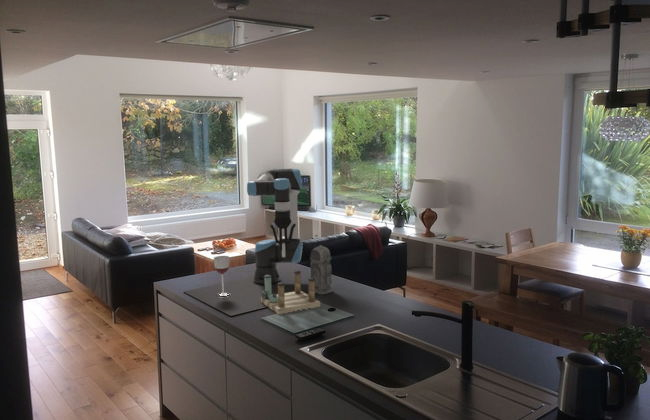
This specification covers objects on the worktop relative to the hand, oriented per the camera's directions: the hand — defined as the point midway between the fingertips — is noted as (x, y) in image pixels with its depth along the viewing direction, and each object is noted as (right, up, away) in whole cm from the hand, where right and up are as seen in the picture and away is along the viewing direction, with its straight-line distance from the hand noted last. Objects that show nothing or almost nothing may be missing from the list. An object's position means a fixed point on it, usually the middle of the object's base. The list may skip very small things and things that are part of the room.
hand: (283, 256), depth 273 cm
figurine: (+19, -20, +18) cm, 33 cm away
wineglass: (-33, -21, +13) cm, 41 cm away
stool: (+3, -23, -4) cm, 24 cm away
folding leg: (-6, -21, -4) cm, 22 cm away
